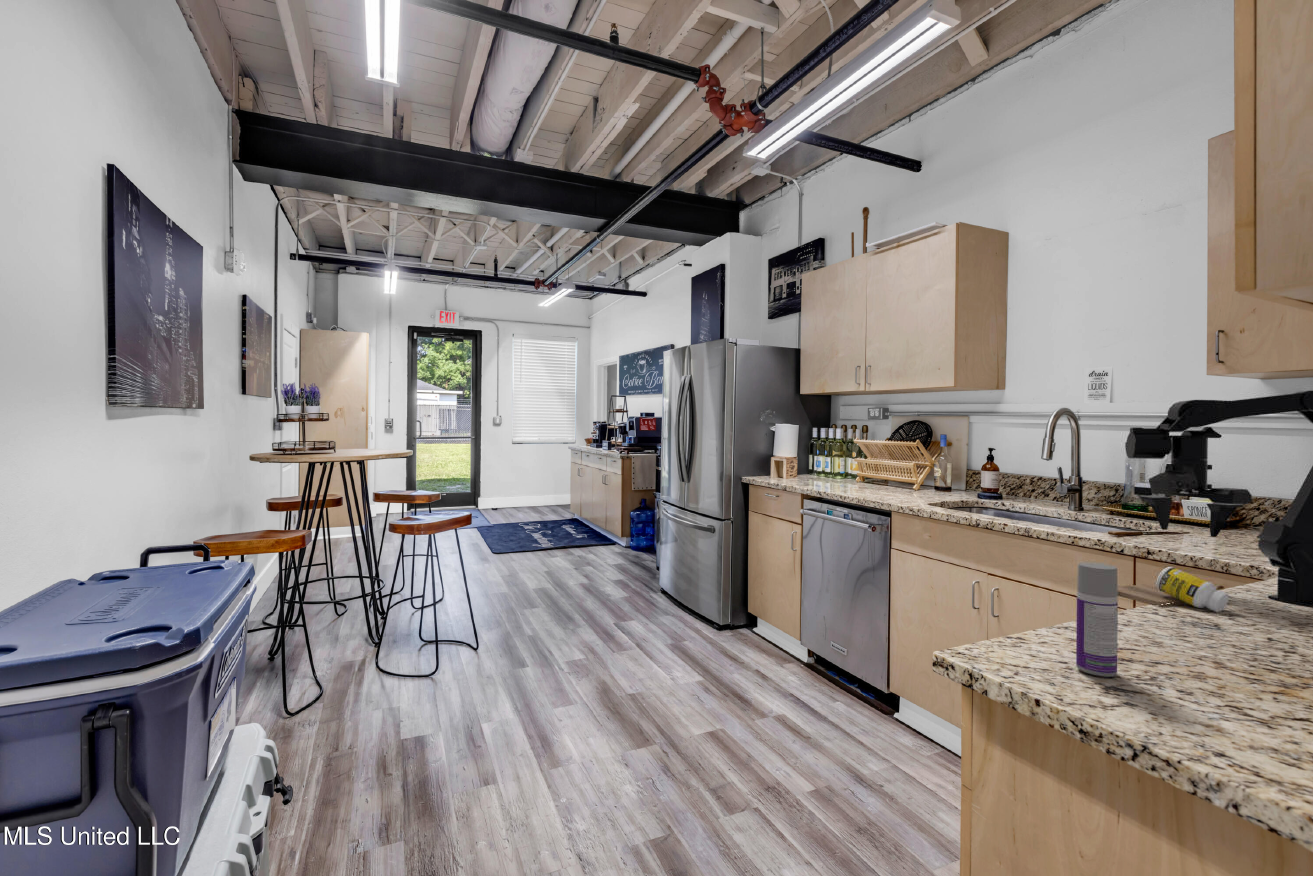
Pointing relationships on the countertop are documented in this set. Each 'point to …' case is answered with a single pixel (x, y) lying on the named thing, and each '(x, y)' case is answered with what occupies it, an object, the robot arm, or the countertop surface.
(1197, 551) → the countertop surface
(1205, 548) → the countertop surface
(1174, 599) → the riser
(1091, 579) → the container
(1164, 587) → the supplement bottle
